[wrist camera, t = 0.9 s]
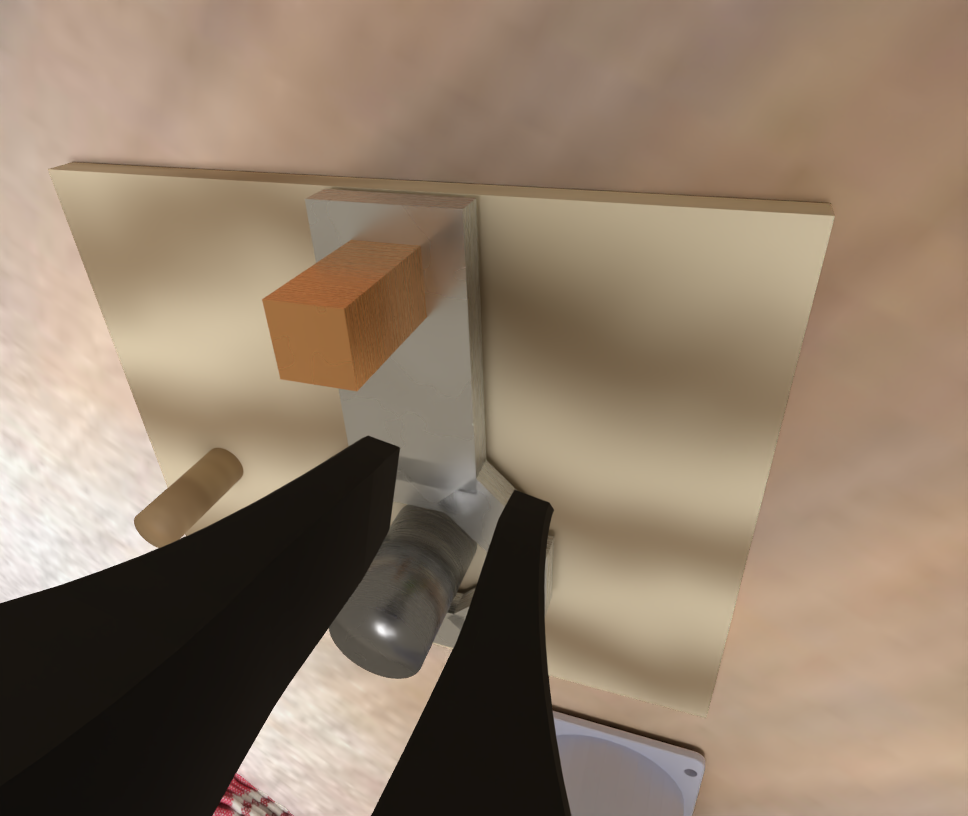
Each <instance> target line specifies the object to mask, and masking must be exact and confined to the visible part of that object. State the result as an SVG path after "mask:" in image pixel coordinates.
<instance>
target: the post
mask: <svg viewBox="0 0 968 816" xmlns="http://www.w3.org/2000/svg"><path fill="white" fill-rule="evenodd" d="M476 550H477V542H476V541H475V540H473V539H472V538H471V537H470V536H469V535H468V534H467V533H466V532H465V531H464V530H463V529H462V528H461V527H460V526H459V525H458V524H457V523H456V522H455V521H454V520H453V519H451V518H450V517H449V516H448V515H447V514H446V513H445V512H442V511H437V510H432V509H427V508H423V507H418V506H413V505H406V506H404V507H403V508H402V509H401V510H400V512H399V513H398V515H397V516H396V518H395V519H394V521H393V522H392V524H391V526H390V529H389V531H388V533H387V535H386V537H385V539H384V541H383V543H382V545H381V547H380V548H379V550H378V552H377V554H376V556H375V558H374V560H373V562H372V563H371V565H370V567H369V569H368V571H367V572H366V574H365V576H364V578H363V579H362V581H361V582H360V584H359V585H358V587H357V588H356V590H355V591H354V593H353V594H352V595H351V597H350V598H349V600H348V601H347V603H346V604H345V605H344V607H343V608H342V610H341V611H340V613H339V614H338V615H337V617H336V618H335V620H334V621H333V622H332V624H331V625H330V627H329V631H330V634H331V637H332V639H333V641H334V643H335V644H336V646H337V647H338V648H339V649H340V650H341V652H342V653H343V654H344V655H345V656H346V657H348V658H349V659H350V660H351V661H353V662H354V663H355V664H357V665H358V666H360V667H362V668H363V669H365V670H367V671H369V672H372V673H374V674H377V675H380V676H383V677H388V678H396V679H401V678H408V677H411V676H413V675H415V674H416V673H417V672H418V671H419V670H420V669H421V667H422V664H423V662H424V660H425V658H426V656H427V654H428V652H429V650H430V648H431V646H432V643H433V641H434V639H435V637H436V635H437V633H438V631H439V629H440V627H441V625H442V622H443V620H444V618H445V616H446V614H447V612H448V610H449V608H450V606H451V604H452V602H453V599H454V597H455V595H456V593H457V591H458V589H459V587H460V585H461V583H462V581H463V578H464V576H465V574H466V572H467V570H468V568H469V566H470V564H471V562H472V560H473V557H474V555H475V553H476Z"/></svg>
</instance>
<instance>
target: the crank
mask: <svg viewBox="0 0 968 816" xmlns="http://www.w3.org/2000/svg"><path fill="white" fill-rule="evenodd" d="M305 204H306V209H307V215H308V221H309V226H310V232H311V238H312V243H313V249H314V254H315V260H316V264H314V265H313V266H311V267H310V268H308V269H307V270H305V271H304V272H302V273H301V274H299V275H298V276H296V277H295V278H293V279H292V280H290V281H289V282H287V283H286V284H284V285H283V286H281V287H280V288H278V289H277V290H275V291H274V292H272V293H271V294H269V295H268V296H266V297H265V298H263V299H262V302H263V306H264V311H265V315H266V319H267V324H268V328H269V332H270V337H271V341H272V345H273V349H274V354H275V358H276V362H277V367H278V371H279V375H280V379H282V380H288V381H294V382H301V383H307V384H313V385H320V386H326V387H332V388H338V389H339V395H340V401H341V406H342V412H343V417H344V423H345V429H346V434H347V440H348V446H350V445H352V444H353V443H355V442H356V441H358V440H360V439H361V438H363V437H366V436H371V437H374V438H376V439H379V440H382V441H385V442H387V443H390V444H393V445H395V446H398V447H400V453H399V460H398V468H397V476H396V483H395V491H394V499H393V501H394V502H399V503H403V504H408V505H413V506H418V507H423V508H427V509H432V510H437V511H442V512H445V513H446V514H447V515H448V516H449V517H450V518H451V519H453V520H454V521H455V522H456V523H457V524H458V525H459V526H460V527H461V528H462V529H463V530H464V531H465V532H466V533H467V534H468V535H469V536H470V537H471V538H472V539H473V540H475V541H476V542H477V543H478V544H479V545H480V546H481V547H482V548H483V549H484V550H485V551H486V552H488V549H489V546H490V543H491V540H492V537H493V534H494V531H495V528H496V525H497V522H498V519H499V517H500V515H501V513H502V511H503V509H504V507H505V505H506V504H507V502H508V500H509V498H510V496H511V495H512V493H513V491H514V490H516V489H515V488H514V487H513V486H512V485H511V484H510V483H509V482H508V481H507V480H506V479H505V478H504V477H503V476H502V475H501V474H500V473H499V472H498V471H497V470H496V469H495V468H494V467H493V466H492V465H491V464H490V463H489V462H488V461H487V460H486V435H485V409H484V383H483V357H482V331H481V305H480V279H479V253H478V227H477V201H476V198H466V197H450V196H433V195H417V194H401V193H384V192H368V191H351V190H335V189H323V190H321V191H319V192H317V193H315V194H313V195H311V196H309V197H307V198H305ZM553 556H554V536H549V535H548V539H547V548H546V561H545V583H544V593H545V617H546V614H547V610H548V607H549V604H550V601H551V598H552V585H553ZM475 588H476V587H475ZM475 588H474V589H472V590H470V591H468V592H466V593H464V594H461V593H456V595H455V597H454V599H453V602H452V604H451V606H450V608H449V610H448V612H447V614H446V616H445V618H444V620H443V622H442V625H441V627H440V629H439V631H438V633H437V635H436V637H435V639H434V641H433V643H437V644H441V645H444V646H448V647H452V648H454V646H455V644H456V641H457V639H458V636H459V634H460V631H461V629H462V626H463V623H464V621H465V618H466V615H467V612H468V609H469V606H470V603H471V600H472V597H473V594H474V591H475Z"/></svg>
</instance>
